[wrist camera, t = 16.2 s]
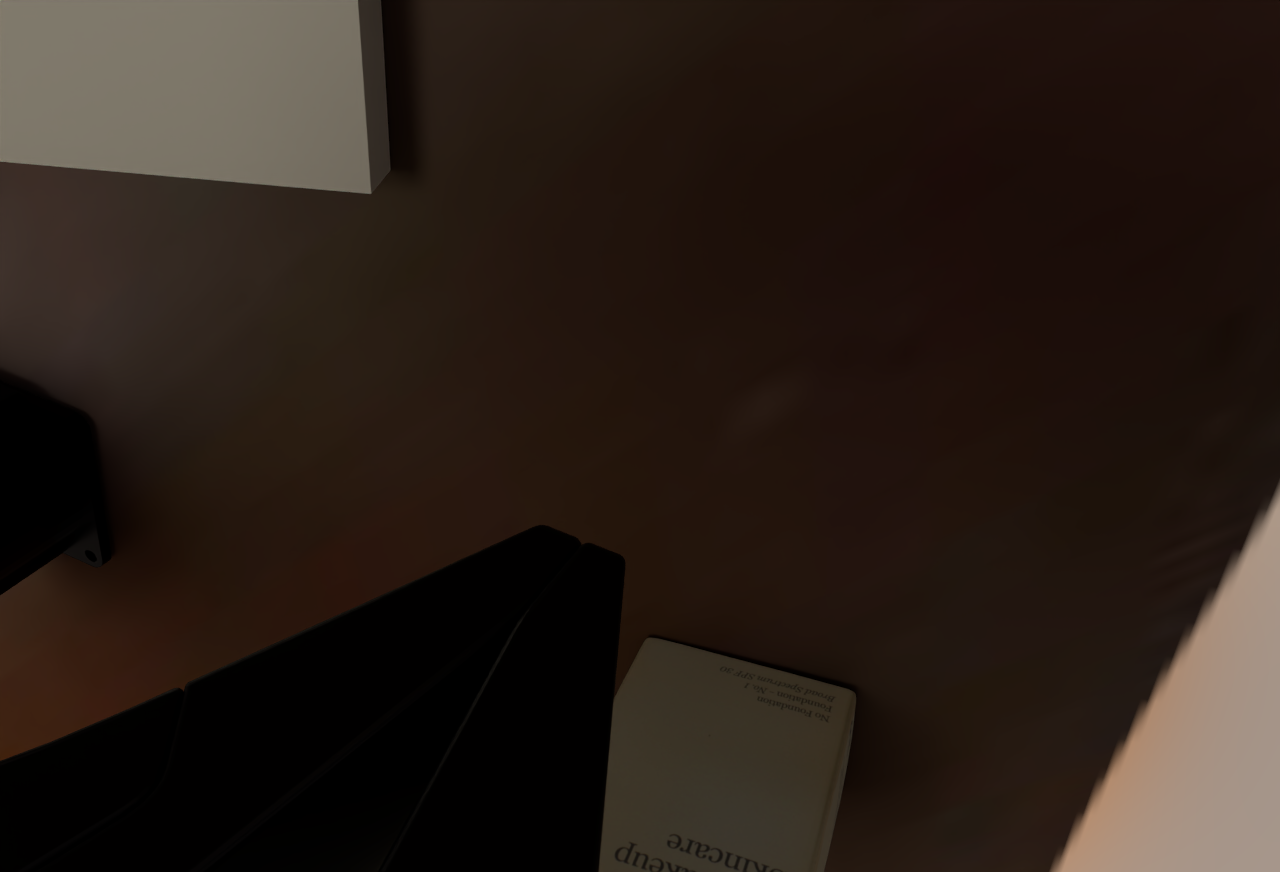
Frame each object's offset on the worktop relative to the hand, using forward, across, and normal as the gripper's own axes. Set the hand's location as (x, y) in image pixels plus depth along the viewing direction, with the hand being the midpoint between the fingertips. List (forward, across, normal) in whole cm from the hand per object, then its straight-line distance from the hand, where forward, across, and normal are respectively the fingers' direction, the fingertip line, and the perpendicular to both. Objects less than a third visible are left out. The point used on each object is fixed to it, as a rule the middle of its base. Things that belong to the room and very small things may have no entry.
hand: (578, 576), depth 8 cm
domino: (+12, +10, 0) cm, 16 cm away
